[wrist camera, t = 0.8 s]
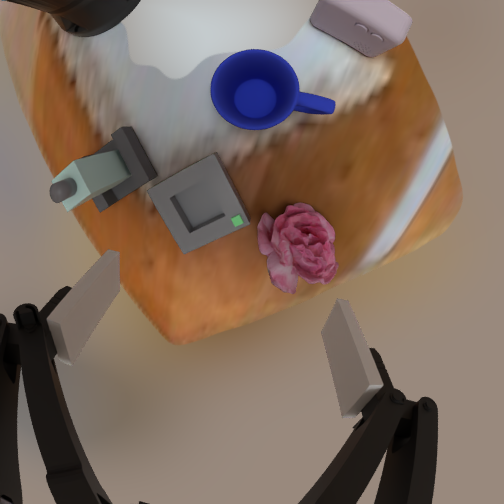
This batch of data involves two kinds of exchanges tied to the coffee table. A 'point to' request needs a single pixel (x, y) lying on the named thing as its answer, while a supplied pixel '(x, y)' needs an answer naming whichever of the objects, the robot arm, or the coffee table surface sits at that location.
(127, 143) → the holster
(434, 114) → the coffee table surface
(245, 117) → the mug
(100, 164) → the plug
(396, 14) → the electronic device
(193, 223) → the port
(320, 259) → the flower
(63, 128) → the coffee table surface
